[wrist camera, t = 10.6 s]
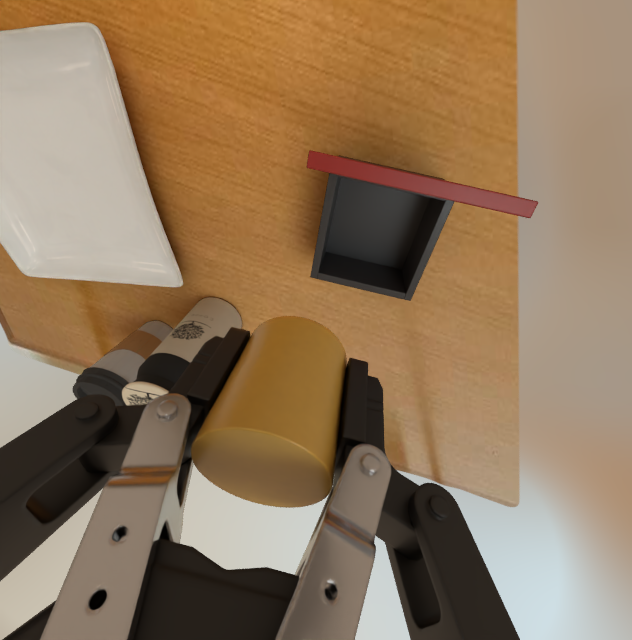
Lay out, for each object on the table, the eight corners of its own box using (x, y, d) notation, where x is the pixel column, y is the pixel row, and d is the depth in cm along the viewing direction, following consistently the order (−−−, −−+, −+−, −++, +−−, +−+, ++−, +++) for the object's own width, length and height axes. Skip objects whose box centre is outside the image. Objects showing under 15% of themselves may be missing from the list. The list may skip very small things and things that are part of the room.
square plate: (-96, 43, 33) (-146, 37, 30) (124, 28, 29) (94, 19, 26) (41, 267, 49) (18, 278, 45) (196, 277, 45) (182, 290, 41)
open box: (405, 273, 39) (410, 301, 33) (319, 253, 39) (310, 277, 34) (444, 178, 32) (458, 194, 26) (338, 155, 32) (330, 165, 27)
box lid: (530, 218, 15) (539, 201, 14) (306, 167, 15) (309, 150, 15) (457, 200, 26) (461, 190, 26) (329, 171, 26) (331, 161, 26)
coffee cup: (168, 357, 56) (112, 425, 44) (131, 328, 53) (59, 392, 41) (193, 339, 52) (138, 408, 40) (154, 306, 49) (82, 370, 37)
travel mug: (239, 341, 51) (185, 435, 37) (195, 327, 51) (123, 415, 36) (245, 305, 46) (186, 396, 32) (196, 289, 46) (114, 373, 31)
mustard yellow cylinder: (325, 304, 11) (295, 420, 7) (359, 383, 13) (352, 508, 9) (231, 328, 12) (160, 436, 8) (275, 395, 14) (236, 508, 10)
